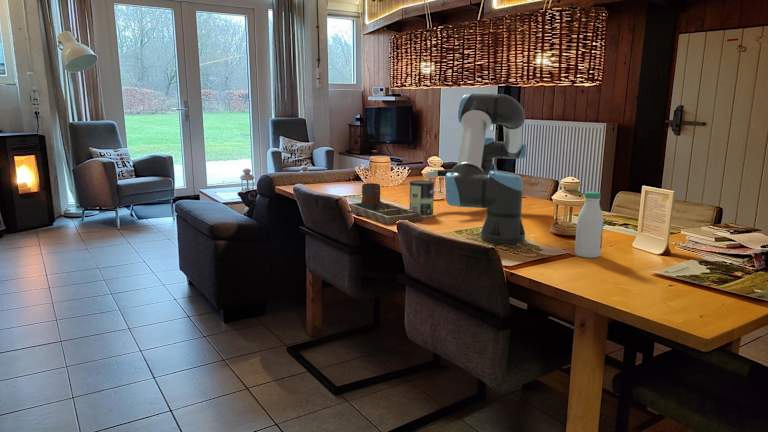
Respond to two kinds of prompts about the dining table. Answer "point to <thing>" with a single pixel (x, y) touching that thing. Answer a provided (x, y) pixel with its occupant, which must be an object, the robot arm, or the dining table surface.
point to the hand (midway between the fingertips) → (438, 176)
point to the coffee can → (422, 197)
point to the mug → (371, 197)
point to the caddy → (387, 213)
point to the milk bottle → (589, 227)
